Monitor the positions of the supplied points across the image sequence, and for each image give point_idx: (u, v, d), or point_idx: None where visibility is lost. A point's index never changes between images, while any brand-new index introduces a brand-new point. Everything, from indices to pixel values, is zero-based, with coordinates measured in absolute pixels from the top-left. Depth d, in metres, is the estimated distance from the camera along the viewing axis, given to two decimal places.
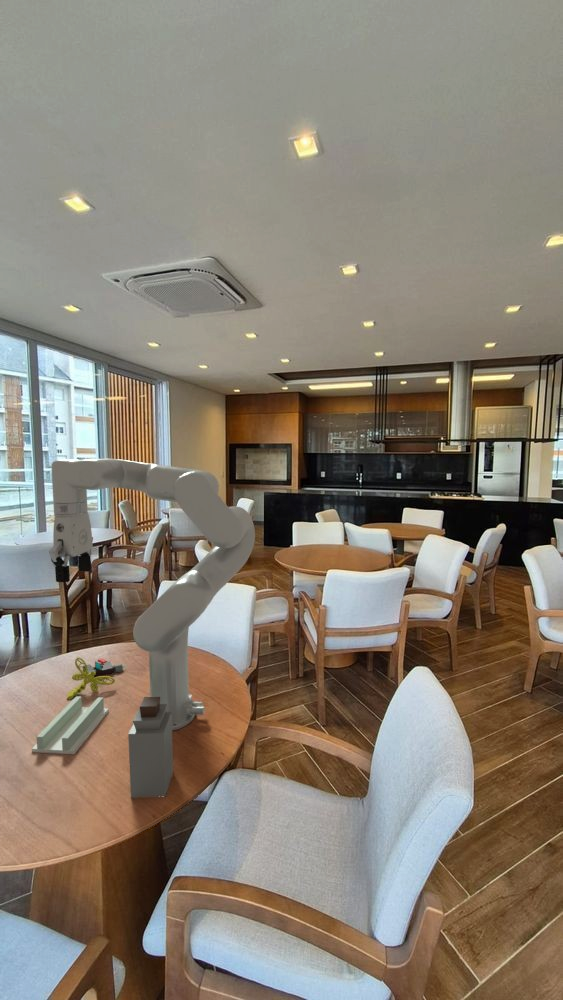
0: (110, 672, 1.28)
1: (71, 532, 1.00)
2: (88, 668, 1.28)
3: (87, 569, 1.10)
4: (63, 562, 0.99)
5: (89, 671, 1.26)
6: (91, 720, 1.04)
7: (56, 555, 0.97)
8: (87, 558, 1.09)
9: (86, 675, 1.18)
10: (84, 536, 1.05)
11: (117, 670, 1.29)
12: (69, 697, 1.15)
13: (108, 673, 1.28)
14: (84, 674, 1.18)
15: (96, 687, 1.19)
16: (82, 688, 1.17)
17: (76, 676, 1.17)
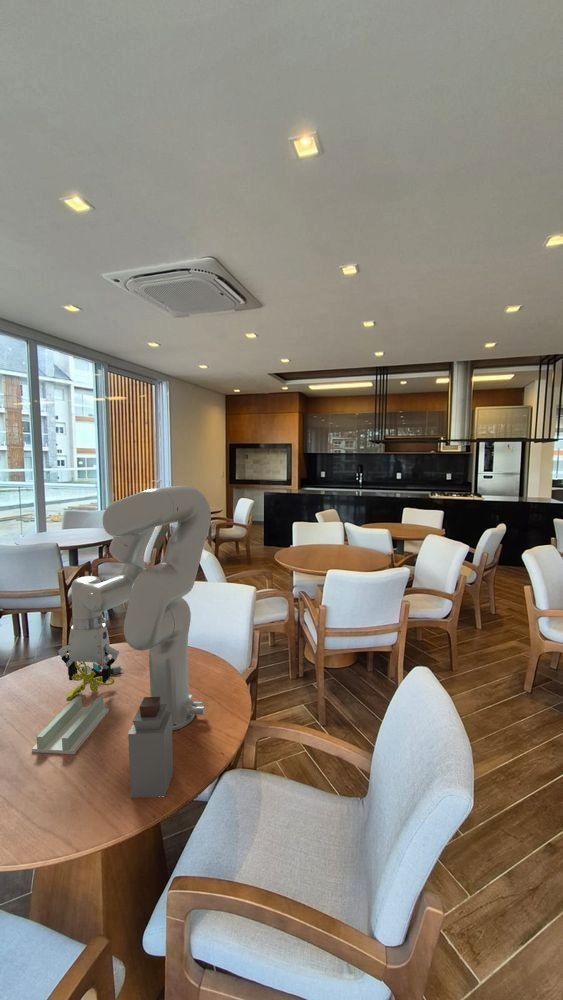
0: None
1: None
2: None
3: None
4: None
5: (87, 672, 1.25)
6: (91, 720, 1.04)
7: None
8: None
9: (86, 675, 1.18)
10: None
11: (115, 672, 1.28)
12: (69, 697, 1.15)
13: None
14: (84, 674, 1.18)
15: (96, 687, 1.19)
16: (82, 688, 1.17)
17: (76, 676, 1.17)
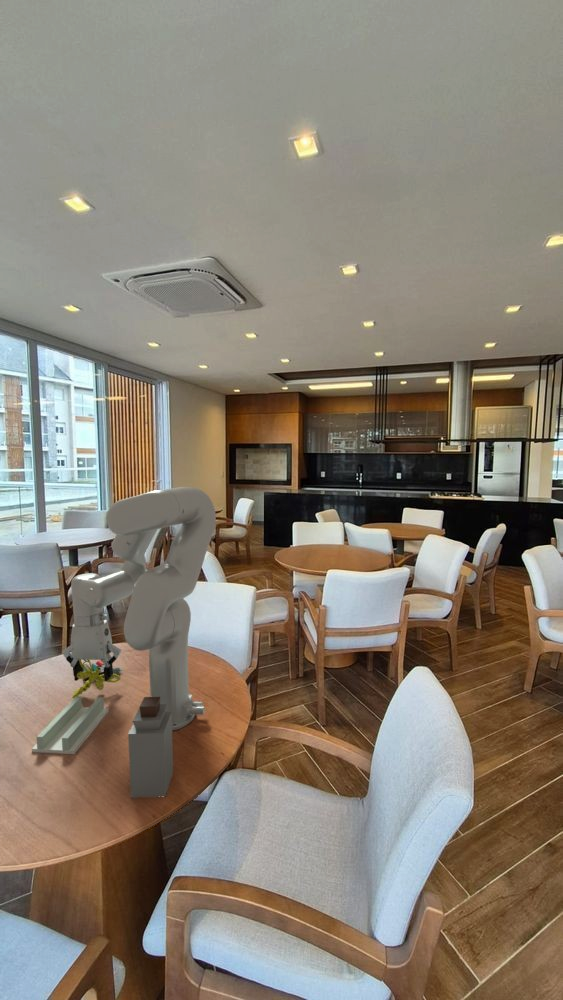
0: None
1: None
2: None
3: None
4: None
5: None
6: (91, 720, 1.04)
7: None
8: None
9: (91, 673, 1.17)
10: None
11: (114, 673, 1.27)
12: (74, 696, 1.14)
13: None
14: (89, 672, 1.17)
15: (101, 685, 1.18)
16: (87, 686, 1.16)
17: (81, 674, 1.16)
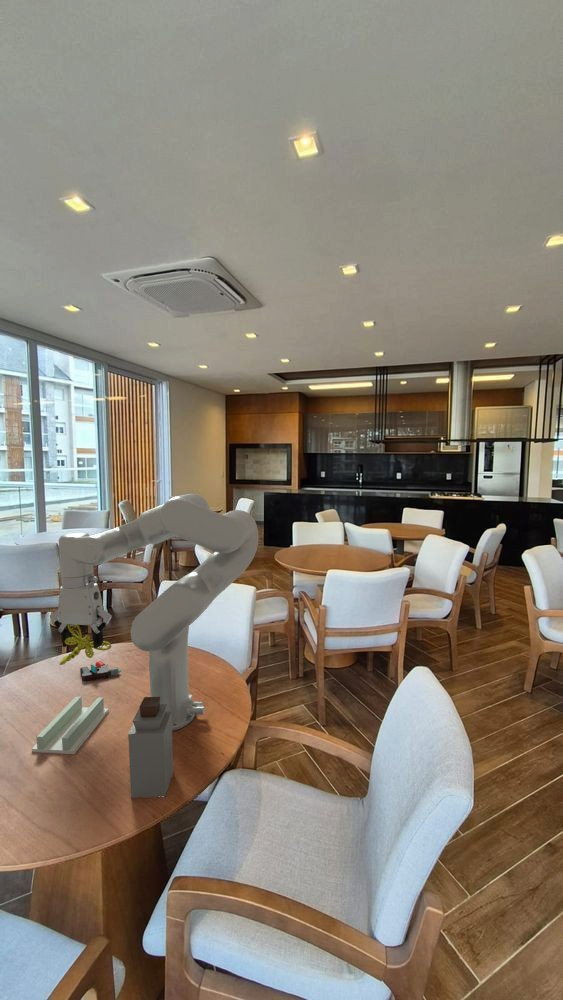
0: (105, 676, 1.26)
1: None
2: (84, 670, 1.27)
3: None
4: None
5: (84, 674, 1.25)
6: (91, 720, 1.04)
7: None
8: None
9: (80, 639, 1.09)
10: None
11: (113, 674, 1.27)
12: (62, 662, 1.06)
13: (103, 677, 1.26)
14: (78, 638, 1.09)
15: (91, 653, 1.10)
16: (76, 653, 1.08)
17: (69, 640, 1.08)
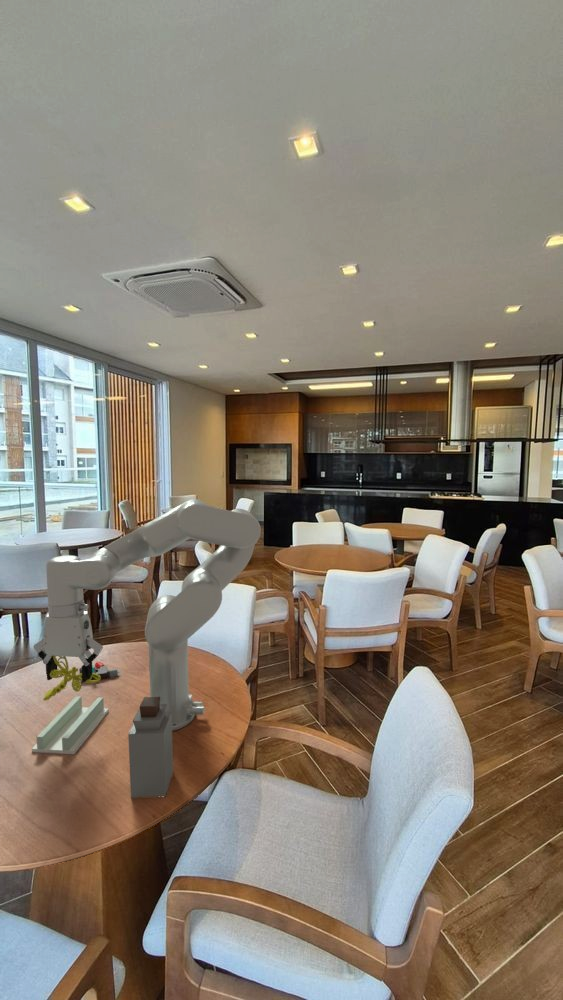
0: (104, 677, 1.25)
1: None
2: None
3: None
4: None
5: None
6: (91, 720, 1.04)
7: None
8: None
9: (67, 672, 1.00)
10: None
11: (111, 675, 1.26)
12: (46, 698, 0.98)
13: (102, 678, 1.25)
14: (64, 671, 1.00)
15: (79, 686, 1.01)
16: (62, 687, 0.99)
17: (55, 673, 1.00)
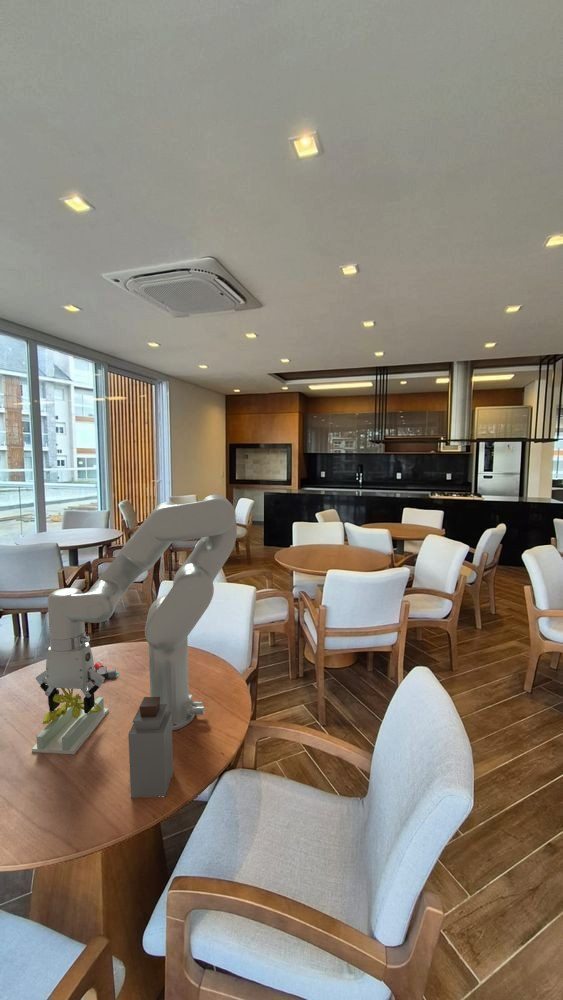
0: None
1: None
2: None
3: (58, 704, 1.03)
4: None
5: None
6: (91, 720, 1.04)
7: None
8: (58, 692, 1.03)
9: (70, 698, 1.01)
10: None
11: (110, 676, 1.25)
12: (45, 721, 0.98)
13: None
14: (68, 697, 1.01)
15: (78, 713, 1.02)
16: (62, 713, 1.00)
17: (58, 697, 1.00)
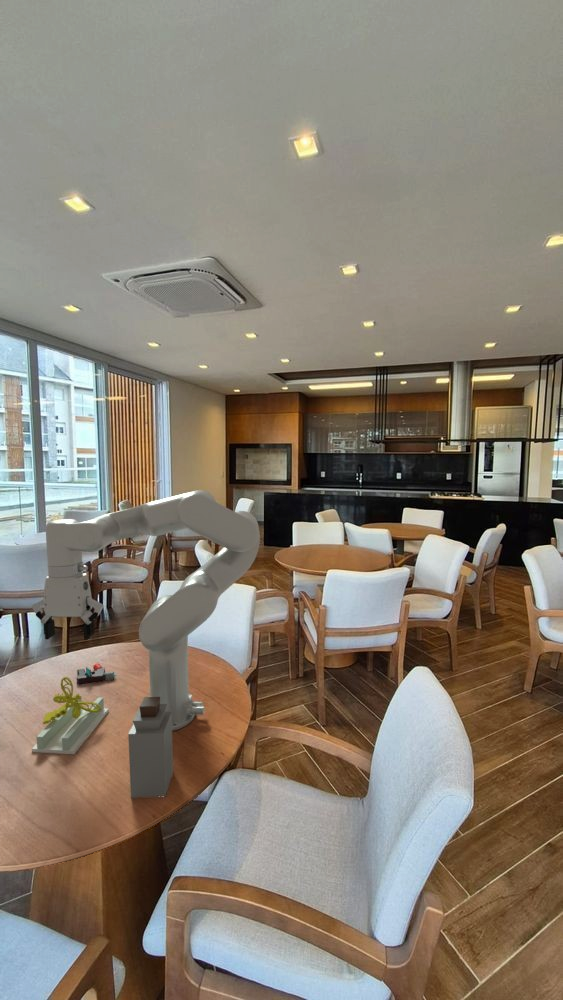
0: (100, 679, 1.24)
1: None
2: (80, 673, 1.25)
3: (53, 633, 1.04)
4: None
5: (79, 676, 1.23)
6: (91, 720, 1.04)
7: None
8: (53, 621, 1.04)
9: (70, 698, 1.01)
10: None
11: (107, 678, 1.24)
12: (45, 721, 0.98)
13: (98, 680, 1.24)
14: (68, 697, 1.00)
15: (78, 713, 1.02)
16: (62, 713, 1.00)
17: (59, 697, 1.00)
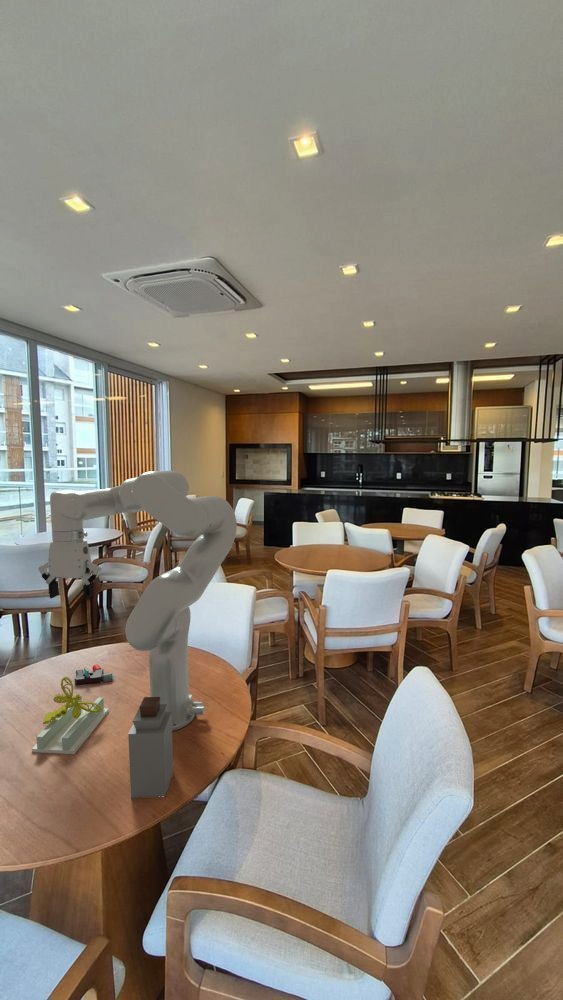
0: (98, 681, 1.23)
1: None
2: (79, 674, 1.25)
3: (57, 593, 1.16)
4: None
5: (77, 677, 1.23)
6: (91, 720, 1.04)
7: None
8: (57, 583, 1.16)
9: (70, 698, 1.01)
10: None
11: (105, 680, 1.24)
12: (46, 722, 0.98)
13: (96, 682, 1.23)
14: (68, 697, 1.00)
15: (78, 713, 1.02)
16: (63, 713, 1.00)
17: (59, 698, 1.00)
